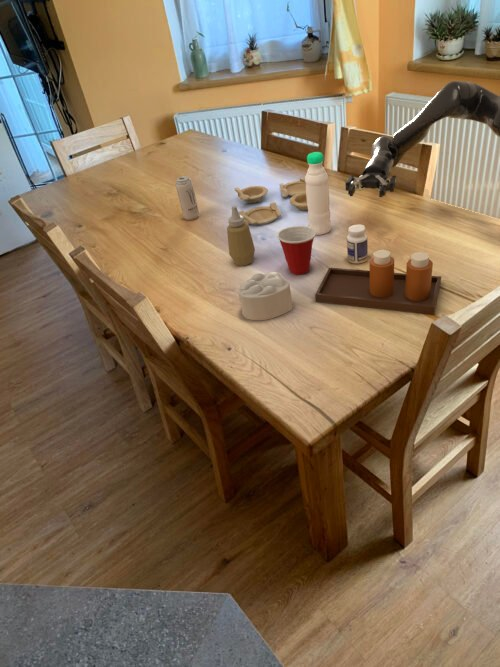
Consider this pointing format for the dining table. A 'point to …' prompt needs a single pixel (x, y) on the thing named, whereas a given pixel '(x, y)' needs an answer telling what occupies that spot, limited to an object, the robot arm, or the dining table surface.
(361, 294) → the tray
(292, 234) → the plastic cup
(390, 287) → the amber bottle
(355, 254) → the pill bottle
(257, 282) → the lumpy-topped squat cylinder
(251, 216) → the tableware set
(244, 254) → the squeeze bottle
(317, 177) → the water bottle
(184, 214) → the energy drink can
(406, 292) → the amber bottle
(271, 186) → the dining table surface
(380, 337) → the dining table surface
